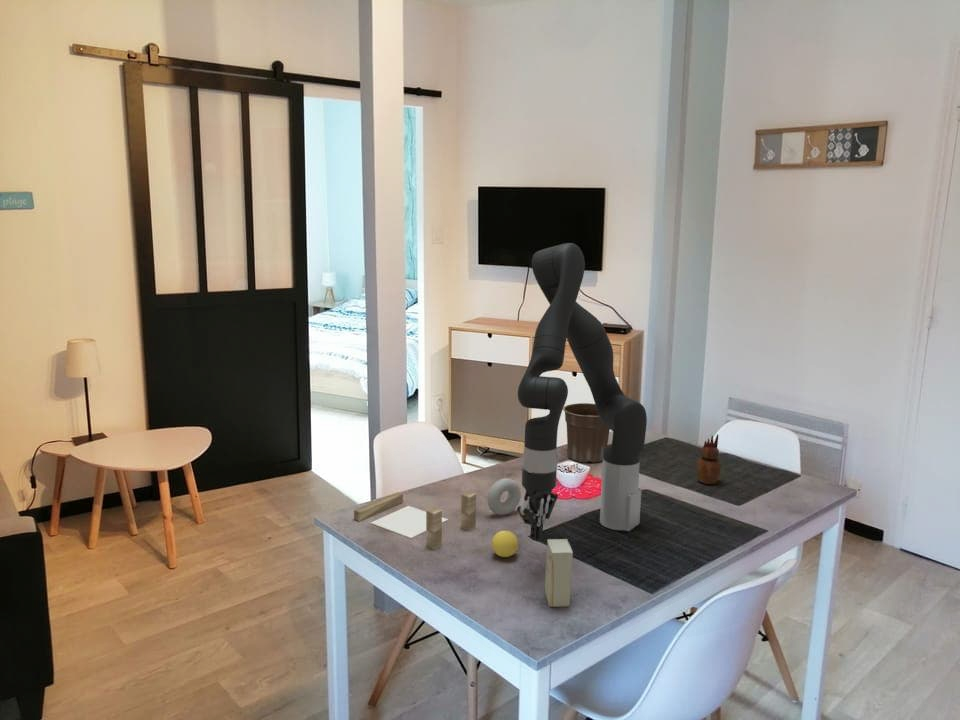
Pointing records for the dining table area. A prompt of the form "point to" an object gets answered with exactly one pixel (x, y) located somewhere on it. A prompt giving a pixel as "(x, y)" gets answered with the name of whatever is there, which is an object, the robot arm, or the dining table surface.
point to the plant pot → (585, 433)
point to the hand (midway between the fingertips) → (536, 539)
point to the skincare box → (558, 572)
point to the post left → (434, 528)
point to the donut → (498, 490)
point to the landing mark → (405, 522)
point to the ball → (504, 543)
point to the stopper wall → (378, 506)
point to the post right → (468, 511)
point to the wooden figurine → (709, 463)
